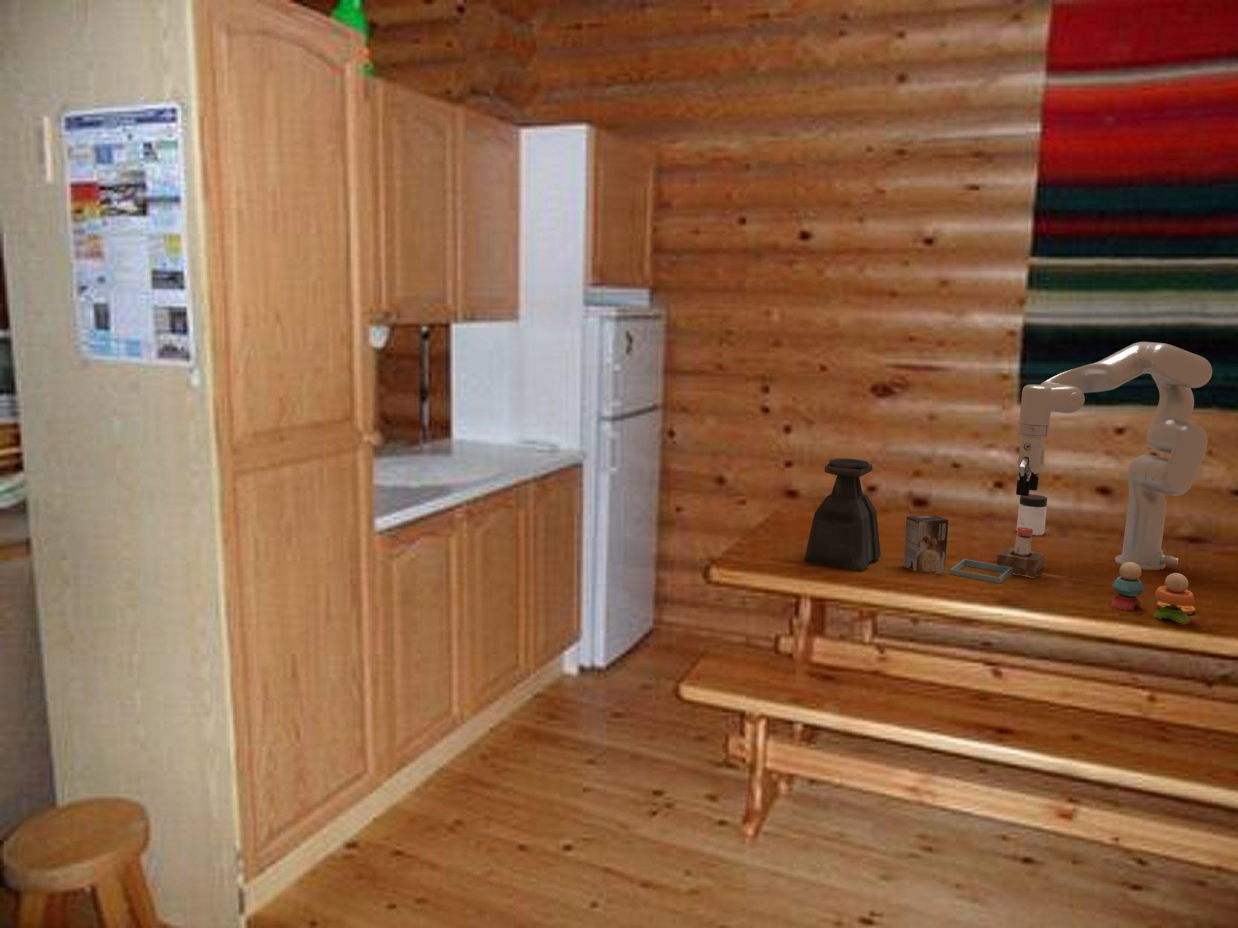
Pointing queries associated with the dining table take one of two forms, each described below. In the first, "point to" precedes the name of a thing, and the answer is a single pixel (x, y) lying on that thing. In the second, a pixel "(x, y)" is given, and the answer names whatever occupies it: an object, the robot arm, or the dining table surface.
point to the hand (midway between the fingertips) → (1026, 492)
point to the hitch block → (1021, 562)
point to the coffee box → (926, 543)
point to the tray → (999, 569)
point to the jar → (1032, 513)
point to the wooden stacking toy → (1167, 595)
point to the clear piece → (1023, 542)
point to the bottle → (845, 521)
